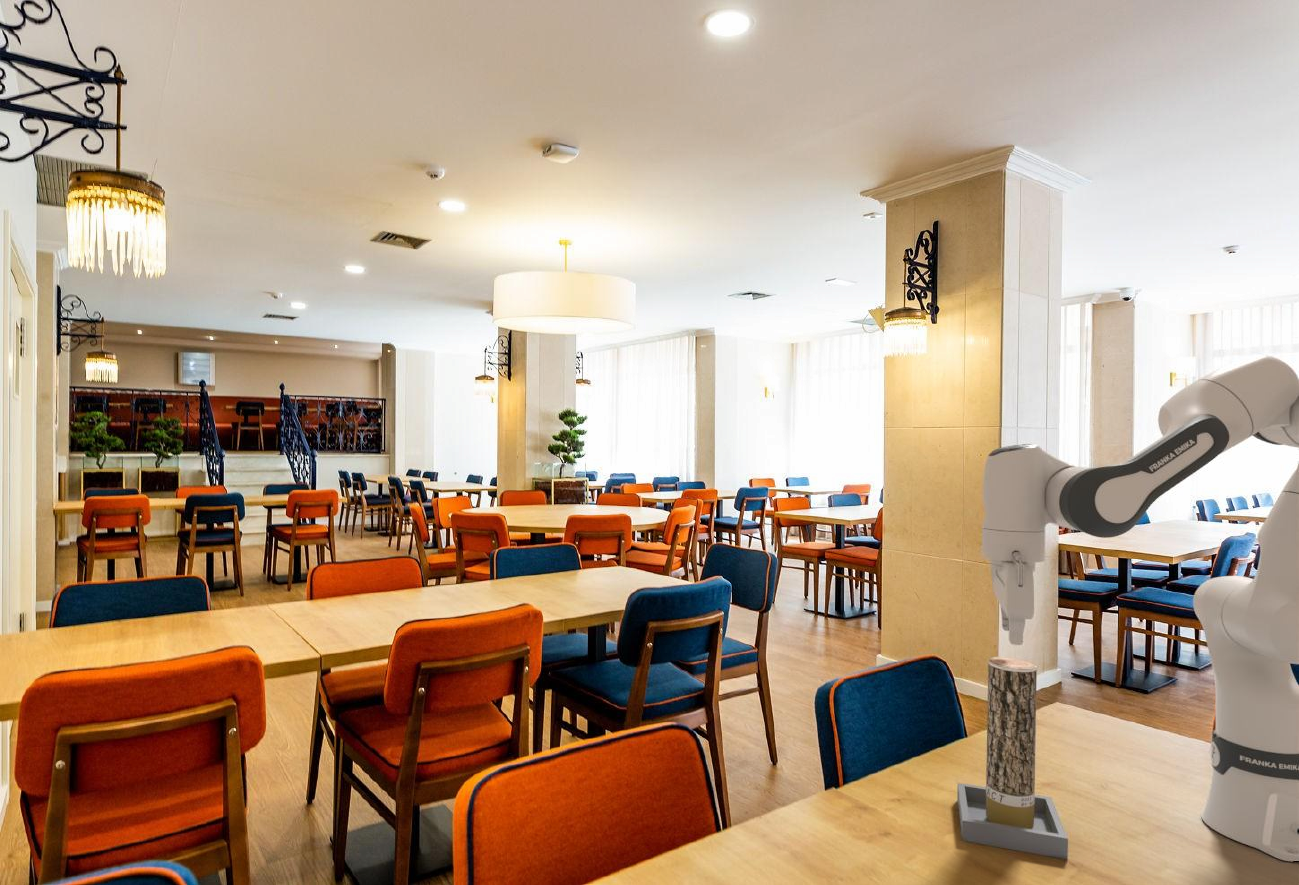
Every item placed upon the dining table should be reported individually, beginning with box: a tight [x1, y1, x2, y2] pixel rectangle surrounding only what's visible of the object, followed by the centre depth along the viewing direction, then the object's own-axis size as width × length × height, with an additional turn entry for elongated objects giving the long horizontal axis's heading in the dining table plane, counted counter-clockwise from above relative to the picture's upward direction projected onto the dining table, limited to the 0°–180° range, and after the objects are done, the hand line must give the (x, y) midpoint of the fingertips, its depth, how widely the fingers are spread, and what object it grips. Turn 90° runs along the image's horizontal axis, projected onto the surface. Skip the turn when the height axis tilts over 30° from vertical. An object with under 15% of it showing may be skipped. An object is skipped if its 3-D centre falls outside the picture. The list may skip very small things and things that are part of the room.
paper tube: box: [985, 656, 1038, 829], centre depth 117 cm, size 7×7×25 cm
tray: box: [956, 782, 1069, 861], centre depth 117 cm, size 14×14×3 cm
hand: (1011, 636), depth 117 cm, fingers open, 8 cm apart
